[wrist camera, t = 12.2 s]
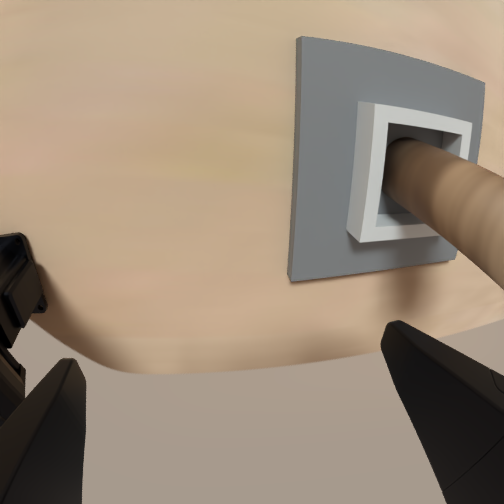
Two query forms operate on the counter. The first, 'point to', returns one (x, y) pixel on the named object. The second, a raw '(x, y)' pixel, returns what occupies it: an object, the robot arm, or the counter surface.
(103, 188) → the counter surface
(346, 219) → the grey square frame plate
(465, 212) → the mill
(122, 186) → the counter surface
